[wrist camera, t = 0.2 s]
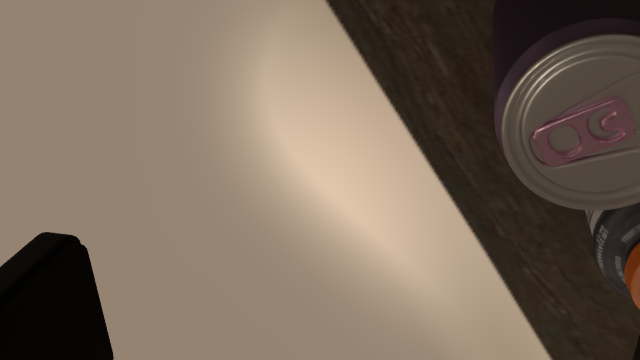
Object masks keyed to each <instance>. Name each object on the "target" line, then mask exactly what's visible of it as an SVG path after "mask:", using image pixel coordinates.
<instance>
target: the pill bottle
mask: <svg viewBox="0 0 640 360" xmlns="http://www.w3.org/2000/svg"><path fill="white" fill-rule="evenodd" d="M582 213H583V216H584V220H585V224H586V227H587V231H588V234H589V238H590V242H591V246H592V249H593V253H594V256H595V260H596V263H597V265H598V268H599V270H600V271H601V273H602V275H603V276H604V277H605V279H606V280H607V281H608V282H609V283H610V284H611V285H612V286H613V287H614V288H615V289H617V290H618V291H619V292H621V293H622V294H624V295H626V296H628V297H630V298H632V299H633V301H634V303H635V304H636V306H637V307H638V308H639V310H640V202H639V203H636V204H633V205H630V206H626V207H622V208H618V209H611V210H600V211H589V210H582Z"/></svg>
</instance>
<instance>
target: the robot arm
mask: <svg viewBox="0 0 640 360" xmlns="http://www.w3.org/2000/svg"><path fill="white" fill-rule="evenodd" d="M113 358H114V357H113V352H112V348H111V343H110V339H109V335H108V332H107V327H106V323H105V319H104V315H103V311H102V307H101V303H100V299H99V295H98V291H97V286H96V283H95V278H94V274H93V270H92V267H91V262H90V258H89V254H88V251H87V248H86V247H85V246H84V245H81V243H80V240H79V239H78V238H77V237H75V236H73V235H67V234H58V233H50V232H45V233H41V234H39V235H38V236H36V237H35V238H34V239H33V240H32V241H30V242H29V243H28V244H27V245H26V246H25V247H23V248H22V249H21V250H20V251H19V252H17V253H16V254H15V255H14V256H13V257H12V258H10V259H9V260H8V261H7V262H6V263H4V264H3V265H2V266H1V267H0V360H113ZM633 360H640V335H639V339H638V342H637V346H636V350H635V353H634V357H633Z"/></svg>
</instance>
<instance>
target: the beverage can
mask: <svg viewBox="0 0 640 360" xmlns="http://www.w3.org/2000/svg"><path fill="white" fill-rule="evenodd" d="M493 53H494V120H495V130H496V135H497V139H498V142H499V145H500V147H501V150H502V152H503V154H504V155H505V157H506V159H507V161H508V163H509V165H510V166H511V168H512V170H513V171H514V173H515V174H516V176H517V177H518V178H519V179H520V180H521V181H522V182H523V184H524V185H526V186H527V187H528V188H529V189H530V190H532V191H533V192H534V193H536V194H537V195H539V196H540V197H542V198H544V199H546V200H548V201H550V202H552V203H555V204H558V205H561V206H564V207H568V208H572V209H579V210H589V211H600V210H611V209H618V208H622V207H626V206H630V205H633V204H636V203H639V202H640V1H639V0H497V1H496V4H495V8H494V14H493Z"/></svg>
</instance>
